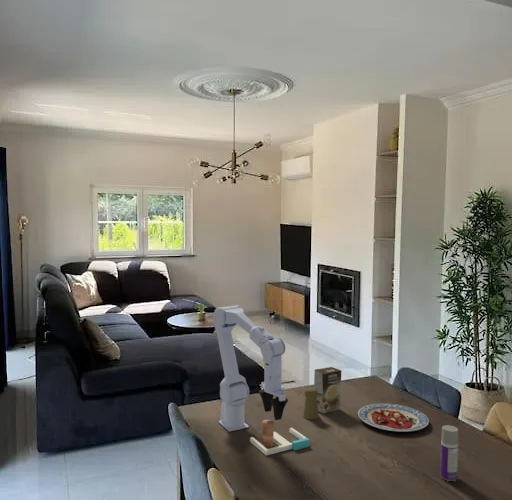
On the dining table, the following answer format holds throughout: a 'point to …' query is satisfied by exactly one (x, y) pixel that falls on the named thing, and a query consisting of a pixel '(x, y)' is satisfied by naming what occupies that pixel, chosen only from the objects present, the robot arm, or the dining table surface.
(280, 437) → the slot rack
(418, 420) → the ceramic plate
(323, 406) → the coffee box
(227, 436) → the dining table surface
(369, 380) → the dining table surface
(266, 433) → the peg
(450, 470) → the container
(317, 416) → the olive yellow shaker
